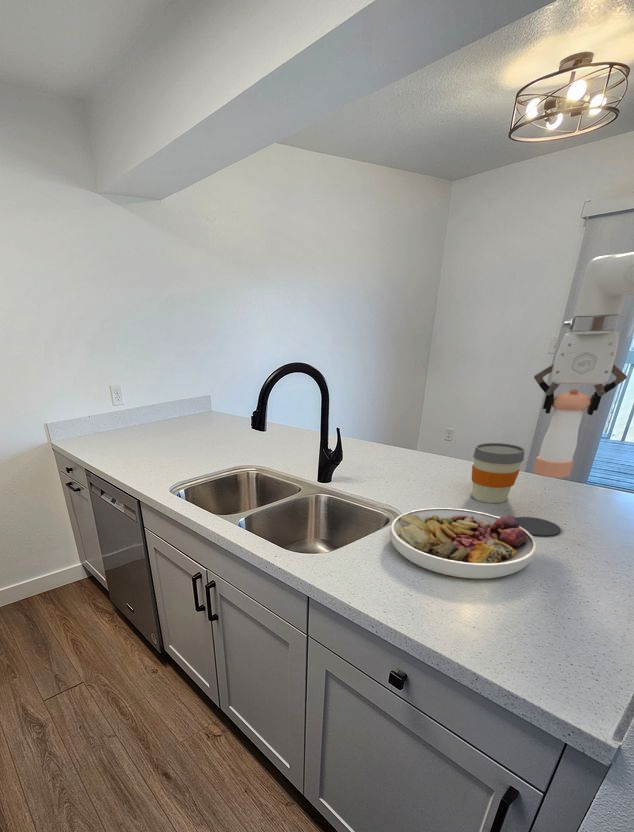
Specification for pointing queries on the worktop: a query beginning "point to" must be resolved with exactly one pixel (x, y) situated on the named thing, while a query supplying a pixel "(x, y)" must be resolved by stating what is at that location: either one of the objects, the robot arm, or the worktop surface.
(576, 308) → the robot arm
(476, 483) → the reusable coffee cup
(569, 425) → the salt shaker
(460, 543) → the bowl
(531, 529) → the coaster
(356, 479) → the worktop surface
